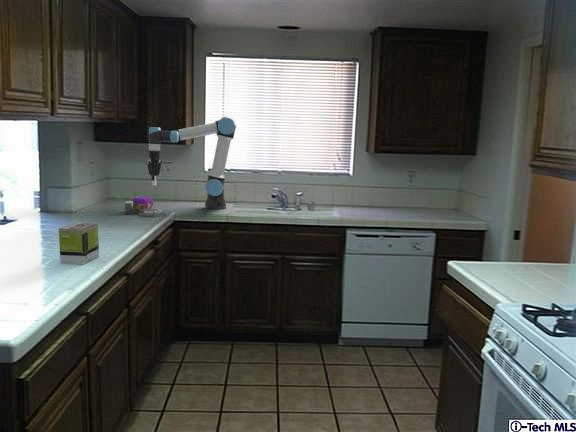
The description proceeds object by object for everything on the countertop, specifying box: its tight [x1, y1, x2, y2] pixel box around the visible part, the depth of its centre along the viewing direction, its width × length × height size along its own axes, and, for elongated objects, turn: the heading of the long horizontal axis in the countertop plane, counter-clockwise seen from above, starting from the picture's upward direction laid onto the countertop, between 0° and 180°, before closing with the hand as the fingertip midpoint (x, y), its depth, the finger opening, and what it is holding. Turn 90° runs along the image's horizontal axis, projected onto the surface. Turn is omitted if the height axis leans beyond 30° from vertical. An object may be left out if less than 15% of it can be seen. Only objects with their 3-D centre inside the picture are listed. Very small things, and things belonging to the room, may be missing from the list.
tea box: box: [58, 222, 100, 266], centre depth 223 cm, size 15×10×15 cm, turn 175°
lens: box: [124, 200, 134, 216], centre depth 345 cm, size 5×5×8 cm
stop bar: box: [133, 203, 145, 214], centre depth 352 cm, size 13×2×6 cm, turn 67°
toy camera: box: [132, 196, 154, 209], centre depth 359 cm, size 11×14×10 cm
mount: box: [137, 208, 166, 218], centre depth 345 cm, size 12×12×4 cm
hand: (154, 185), depth 368 cm, fingers closed
